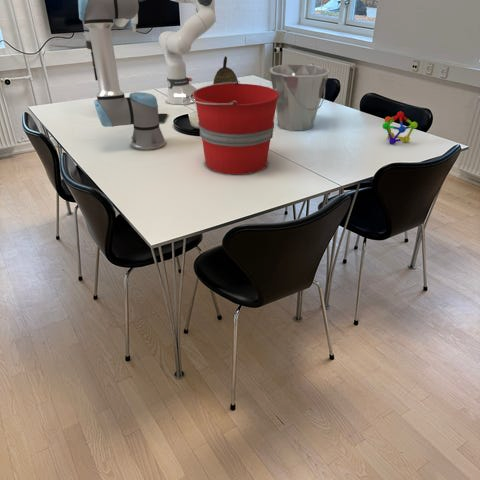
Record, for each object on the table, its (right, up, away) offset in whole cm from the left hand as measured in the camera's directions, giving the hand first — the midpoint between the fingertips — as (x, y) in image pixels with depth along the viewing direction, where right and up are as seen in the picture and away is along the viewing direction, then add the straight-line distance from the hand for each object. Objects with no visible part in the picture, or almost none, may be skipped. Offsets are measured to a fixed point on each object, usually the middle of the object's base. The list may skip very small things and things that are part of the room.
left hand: (99, 83), depth 237 cm
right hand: (+8, +48, +41) cm, 63 cm away
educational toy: (+149, -38, -27) cm, 157 cm away
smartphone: (+31, -18, +4) cm, 36 cm away
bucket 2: (+105, -24, -4) cm, 107 cm away
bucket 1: (+73, -51, -48) cm, 101 cm away
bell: (+67, +6, +44) cm, 80 cm away
